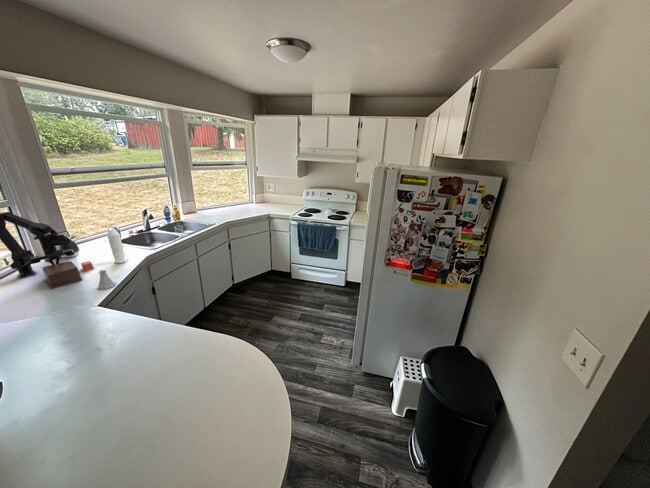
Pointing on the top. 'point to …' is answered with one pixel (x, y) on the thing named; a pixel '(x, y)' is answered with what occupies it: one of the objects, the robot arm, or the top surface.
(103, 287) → the flask
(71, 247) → the black rounded dome
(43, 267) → the drawer
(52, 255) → the robot arm
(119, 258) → the white statue
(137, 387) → the top surface
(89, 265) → the block
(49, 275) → the cabinet
